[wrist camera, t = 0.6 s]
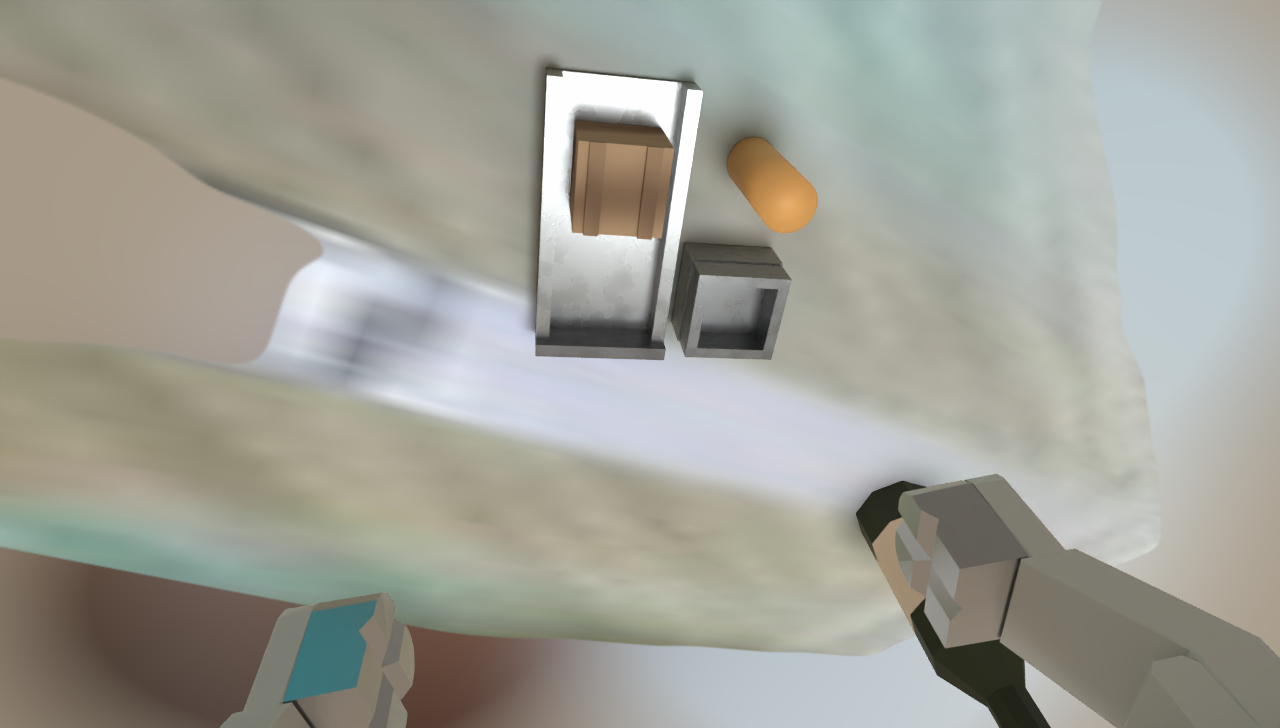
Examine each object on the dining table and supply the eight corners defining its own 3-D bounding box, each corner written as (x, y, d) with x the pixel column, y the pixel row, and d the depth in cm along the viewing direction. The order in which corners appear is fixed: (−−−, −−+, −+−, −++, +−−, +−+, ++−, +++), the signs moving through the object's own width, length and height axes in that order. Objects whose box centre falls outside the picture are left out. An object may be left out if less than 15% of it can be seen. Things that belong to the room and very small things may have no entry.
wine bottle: (848, 541, 75) (1006, 857, 50) (863, 484, 70) (1045, 799, 45) (922, 534, 76) (1113, 841, 51) (940, 477, 71) (1160, 783, 46)
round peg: (732, 134, 49) (767, 175, 42) (780, 139, 50) (823, 179, 42) (723, 184, 51) (755, 231, 44) (769, 188, 52) (809, 234, 44)
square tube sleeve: (684, 242, 53) (698, 273, 49) (771, 247, 54) (793, 278, 50) (671, 322, 57) (683, 358, 52) (753, 325, 58) (772, 360, 53)
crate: (574, 119, 47) (578, 141, 42) (662, 127, 48) (675, 148, 43) (569, 206, 50) (572, 235, 45) (651, 212, 51) (662, 240, 46)
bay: (546, 68, 45) (547, 78, 42) (695, 83, 47) (706, 94, 44) (535, 332, 56) (535, 356, 53) (657, 337, 57) (663, 360, 55)
